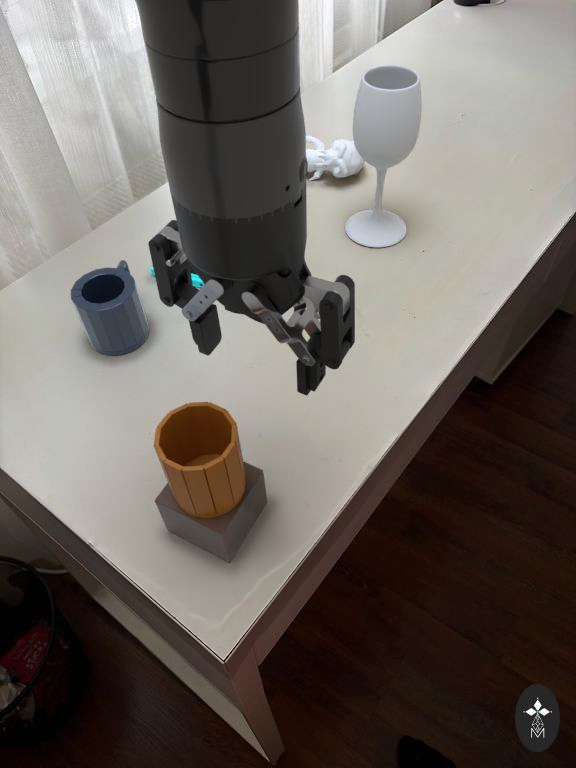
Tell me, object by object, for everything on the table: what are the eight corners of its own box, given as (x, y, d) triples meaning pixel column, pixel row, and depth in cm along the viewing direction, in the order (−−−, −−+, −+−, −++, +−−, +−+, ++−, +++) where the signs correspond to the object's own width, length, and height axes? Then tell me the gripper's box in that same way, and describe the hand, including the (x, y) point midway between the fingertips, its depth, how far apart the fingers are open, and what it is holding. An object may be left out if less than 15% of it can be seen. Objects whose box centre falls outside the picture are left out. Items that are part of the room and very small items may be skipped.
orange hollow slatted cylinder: (220, 530, 49) (207, 483, 43) (159, 499, 51) (137, 449, 45) (259, 471, 53) (251, 419, 47) (199, 444, 55) (185, 391, 49)
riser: (229, 563, 54) (221, 535, 49) (167, 530, 56) (154, 500, 51) (267, 501, 58) (263, 470, 53) (207, 473, 60) (198, 440, 55)
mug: (139, 358, 70) (123, 313, 64) (81, 353, 71) (60, 307, 65) (162, 300, 76) (150, 253, 70) (109, 295, 77) (92, 249, 71)
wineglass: (410, 215, 86) (434, 63, 69) (401, 252, 81) (423, 98, 64) (352, 207, 87) (361, 57, 71) (339, 243, 82) (345, 90, 66)
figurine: (278, 123, 88) (355, 116, 84) (301, 127, 96) (373, 122, 91) (280, 181, 91) (355, 178, 86) (303, 181, 99) (372, 178, 94)
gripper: (91, 176, 32) (153, 367, 45) (324, 248, 28) (320, 439, 40) (170, 114, 36) (207, 306, 49) (385, 169, 32) (365, 364, 44)
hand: (258, 366), depth 45 cm, fingers open, 8 cm apart
